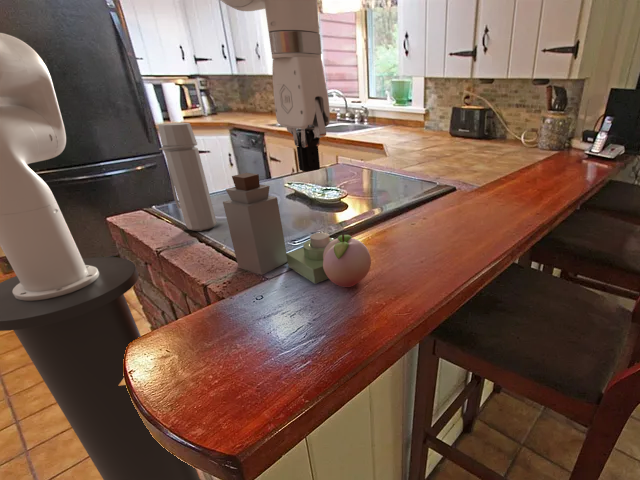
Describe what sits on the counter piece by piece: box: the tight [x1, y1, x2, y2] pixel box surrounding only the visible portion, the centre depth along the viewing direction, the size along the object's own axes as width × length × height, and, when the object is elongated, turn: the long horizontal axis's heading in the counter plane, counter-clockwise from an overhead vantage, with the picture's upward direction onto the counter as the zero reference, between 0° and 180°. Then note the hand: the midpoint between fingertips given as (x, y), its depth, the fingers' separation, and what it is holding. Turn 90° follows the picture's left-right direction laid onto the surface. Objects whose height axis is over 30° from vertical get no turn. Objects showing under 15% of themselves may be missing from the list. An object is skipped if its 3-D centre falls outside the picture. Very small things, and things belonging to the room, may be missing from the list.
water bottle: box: [157, 122, 218, 232], centre depth 88 cm, size 9×8×25 cm
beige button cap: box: [309, 232, 331, 248], centre depth 69 cm, size 4×4×2 cm
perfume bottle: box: [222, 172, 288, 276], centre depth 69 cm, size 7×7×18 cm
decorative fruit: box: [323, 233, 372, 288], centre depth 63 cm, size 9×8×10 cm
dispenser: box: [286, 237, 336, 285], centre depth 71 cm, size 10×10×5 cm
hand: (309, 169), depth 63 cm, fingers closed
